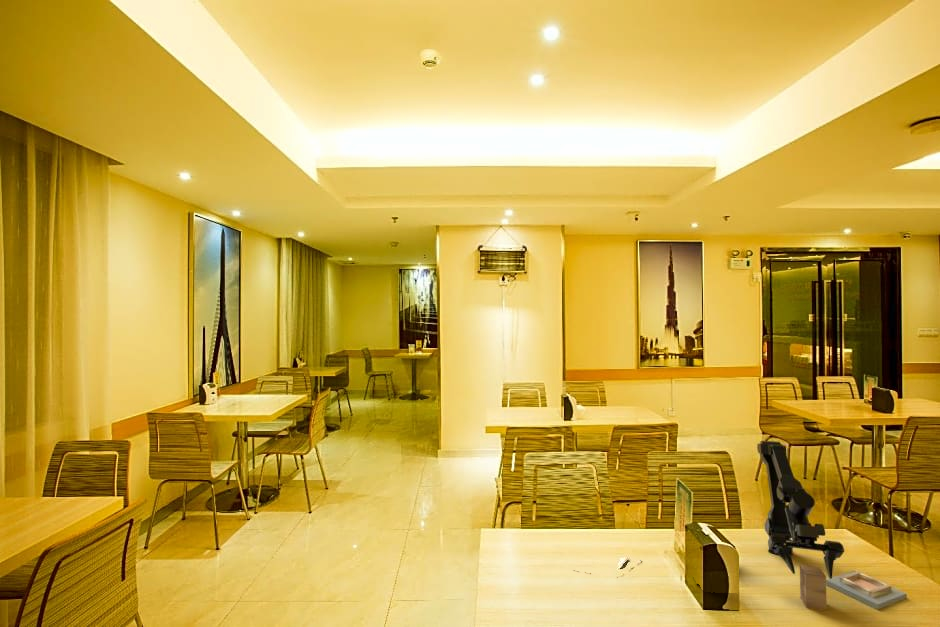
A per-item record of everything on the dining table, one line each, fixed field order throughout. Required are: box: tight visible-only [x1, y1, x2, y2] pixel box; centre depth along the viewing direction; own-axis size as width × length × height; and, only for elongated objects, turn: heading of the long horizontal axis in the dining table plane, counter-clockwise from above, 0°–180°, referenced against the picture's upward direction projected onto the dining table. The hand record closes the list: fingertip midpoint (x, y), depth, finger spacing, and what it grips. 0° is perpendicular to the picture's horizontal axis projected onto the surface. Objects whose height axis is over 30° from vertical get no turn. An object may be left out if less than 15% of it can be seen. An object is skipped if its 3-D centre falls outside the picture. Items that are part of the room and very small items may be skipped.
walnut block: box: [799, 564, 828, 611], centre depth 140 cm, size 5×5×10 cm
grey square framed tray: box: [826, 570, 908, 610], centre depth 146 cm, size 14×14×3 cm
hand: (812, 575), depth 140 cm, fingers open, 9 cm apart
